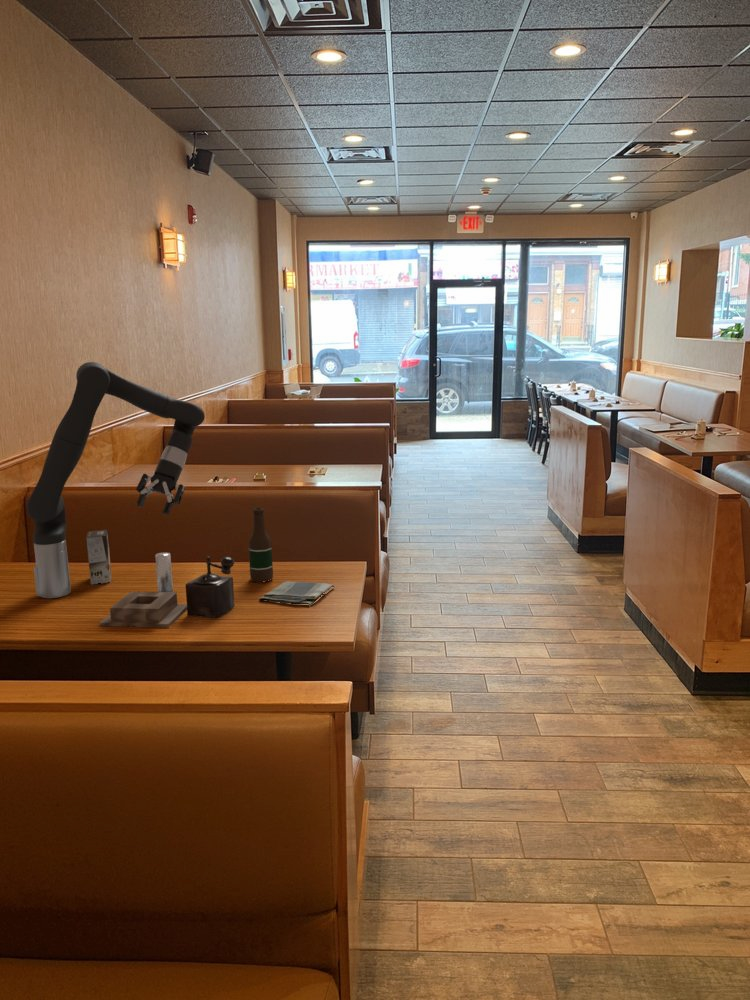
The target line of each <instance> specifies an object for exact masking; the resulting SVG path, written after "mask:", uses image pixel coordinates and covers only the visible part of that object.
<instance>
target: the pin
mask: <svg viewBox="0 0 750 1000" xmlns="http://www.w3.org/2000/svg"><path fill="white" fill-rule="evenodd" d="M154 557H155V569H156V581H157V590H158V591H157V592H174V585H173V575H172V574H173V573H172V572H173V571H172V559H171V557H172V556H171V553H170V552H158V553H156V554H155V556H154Z"/></svg>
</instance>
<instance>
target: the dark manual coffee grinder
mask: <svg viewBox="0 0 750 1000" xmlns="http://www.w3.org/2000/svg"><path fill="white" fill-rule="evenodd" d="M205 559H206V561H205V564H206V568H207V570H206V571H207V573H204V574H202V575H200V576H197V577H195V578H193V579H192V580H191V581H188V582H187V583H185V596H186V597H185V598H186V604H187V610H186V611H187V615H186V616H192V617H198V618H199V617H200V618H220V617H223V616H224V615H226V614H227V613H229V612H230V611H231V610H232V609H234V608H235V593H234V589H235V588H234V577H232V576H224V575H229V574H231V573H232V570H231V568H232V567H233V566H234V565H235V560H234V558H232V557H231V556H224V557H223V558H221V559H220V564H218V563H217V564H216V563H214V562H212V561H211V559H212V558H211V557H210V556H209V555H208V556H206V557H205ZM211 566H212V567H213V568H217V569H221V571H220V572H221V573H222V574H224V575H223V576H222V575H219V574H216V573H213V572H212V571H211ZM233 607H234V608H233ZM228 611H229V612H228Z"/></svg>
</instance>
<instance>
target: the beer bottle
mask: <svg viewBox="0 0 750 1000" xmlns="http://www.w3.org/2000/svg"><path fill="white" fill-rule="evenodd" d="M252 513H253V531H252V533H251V535H250V537H249V540H248V556H249V557H248V558H249V561H248V562H249V574H250V575H249V576H250V581H251V582H252V581H256V582H263V581H268V580H270V579H272V578H273V579H274V569H273V565H274V564H273V548H272V542H271V539H270V536H269V534H267V530H266V527H265V526H266V525H265V517H264V513H265V510H264V508H263V507H255V508H253V509H252ZM256 582H255V583H256ZM263 583H264V582H263Z"/></svg>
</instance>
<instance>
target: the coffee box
mask: <svg viewBox="0 0 750 1000" xmlns="http://www.w3.org/2000/svg"><path fill="white" fill-rule="evenodd" d="M85 538H86V547H87V549H86V550H87V558H88V567H89V569H88V570H89V579H90V580H89V581H90V585H99V584H98V583H101V584H109V583H108V582H110V583H111V580H112V566H111V558H110V557H111V555H110V545H109V535H108V529H101V530H93V531H90V530H89V531H88V532H87V534H86V537H85Z"/></svg>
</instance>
